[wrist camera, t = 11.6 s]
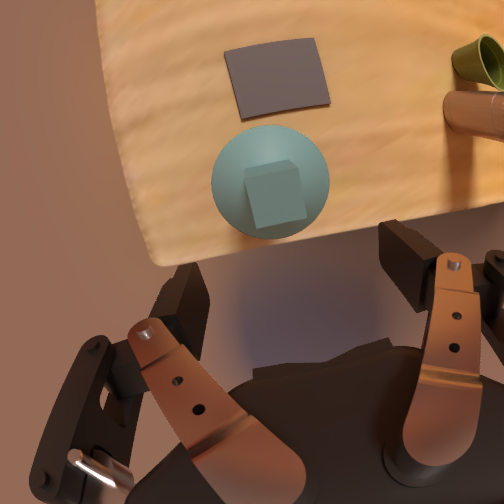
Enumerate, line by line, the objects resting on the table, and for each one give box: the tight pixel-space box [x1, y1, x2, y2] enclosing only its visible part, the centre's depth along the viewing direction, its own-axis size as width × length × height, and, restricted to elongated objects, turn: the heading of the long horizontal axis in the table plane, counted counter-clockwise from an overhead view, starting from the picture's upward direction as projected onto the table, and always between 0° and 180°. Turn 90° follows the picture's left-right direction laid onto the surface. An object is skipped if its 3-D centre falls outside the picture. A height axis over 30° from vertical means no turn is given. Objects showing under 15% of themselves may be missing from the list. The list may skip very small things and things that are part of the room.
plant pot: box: [452, 34, 504, 92], centre depth 27 cm, size 12×12×11 cm
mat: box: [224, 38, 331, 119], centre depth 37 cm, size 15×12×1 cm
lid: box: [211, 125, 329, 239], centre depth 23 cm, size 11×11×6 cm
